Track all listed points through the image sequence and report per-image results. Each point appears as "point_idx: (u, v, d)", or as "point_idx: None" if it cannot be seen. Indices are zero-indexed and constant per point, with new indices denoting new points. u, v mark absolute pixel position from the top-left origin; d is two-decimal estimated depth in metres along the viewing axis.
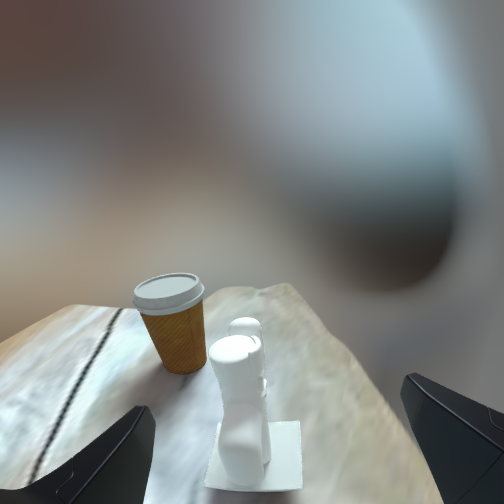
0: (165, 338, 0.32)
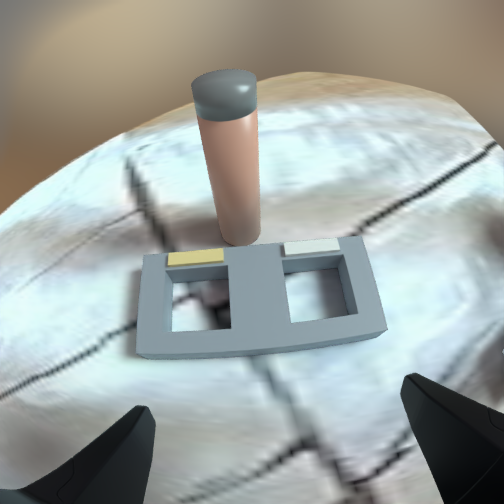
0: None
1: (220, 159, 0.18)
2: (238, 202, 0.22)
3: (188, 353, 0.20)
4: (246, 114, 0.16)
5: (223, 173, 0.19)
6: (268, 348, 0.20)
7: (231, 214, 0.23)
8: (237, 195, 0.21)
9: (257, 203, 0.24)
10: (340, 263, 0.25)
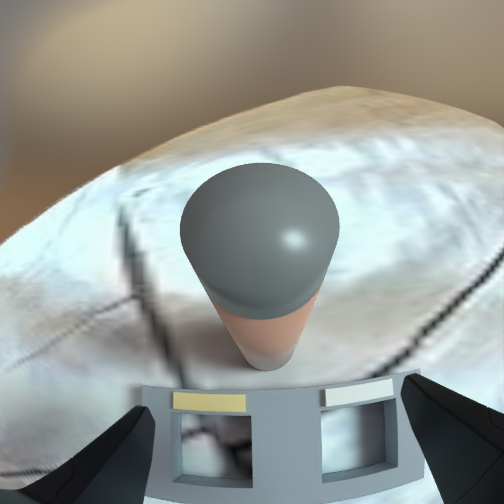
0: None
1: (246, 339, 0.10)
2: (270, 358, 0.14)
3: None
4: (307, 300, 0.08)
5: (250, 346, 0.12)
6: None
7: (258, 361, 0.16)
8: (270, 356, 0.14)
9: (296, 344, 0.16)
10: (388, 400, 0.17)
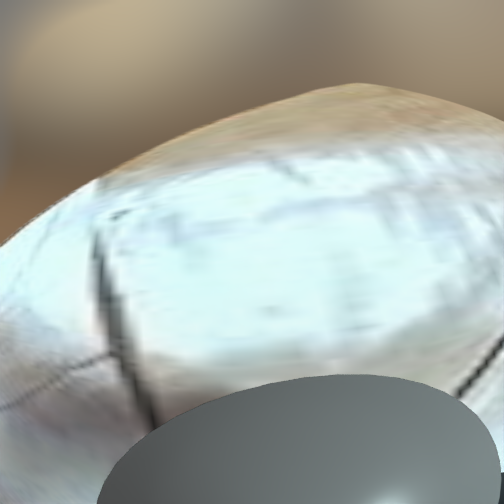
0: None
1: None
2: None
3: None
4: None
5: None
6: None
7: None
8: None
9: None
10: None
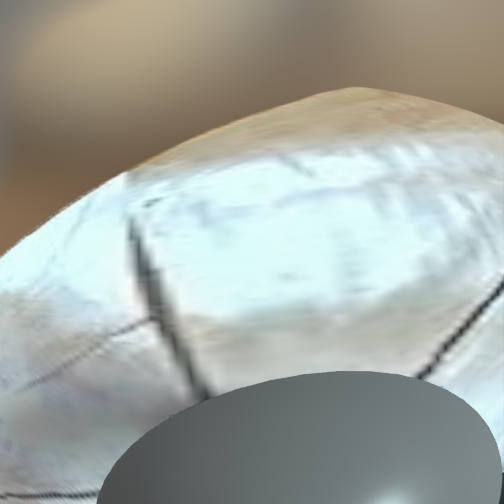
0: None
1: None
2: None
3: None
4: None
5: None
6: None
7: None
8: None
9: None
10: None
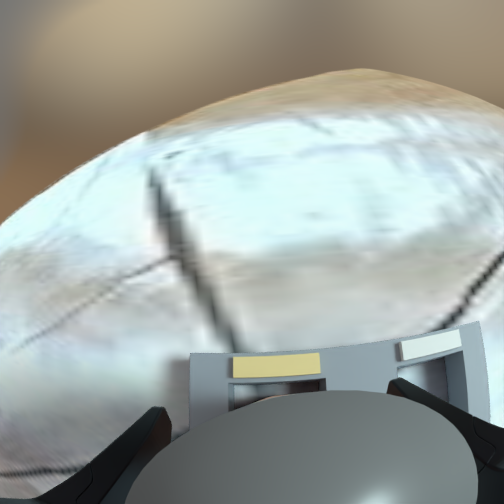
0: None
1: None
2: None
3: None
4: None
5: None
6: None
7: None
8: None
9: None
10: (452, 356, 0.15)
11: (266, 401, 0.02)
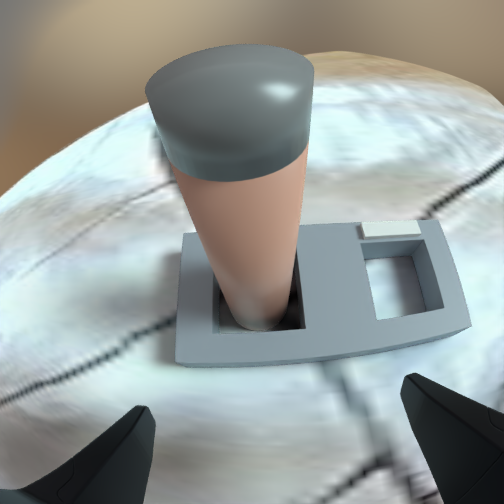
0: None
1: (224, 247, 0.09)
2: (257, 298, 0.13)
3: (248, 362, 0.15)
4: (287, 161, 0.06)
5: (231, 266, 0.10)
6: (351, 352, 0.15)
7: (245, 307, 0.14)
8: (257, 292, 0.12)
9: (288, 288, 0.15)
10: (417, 250, 0.19)
11: (215, 48, 0.07)
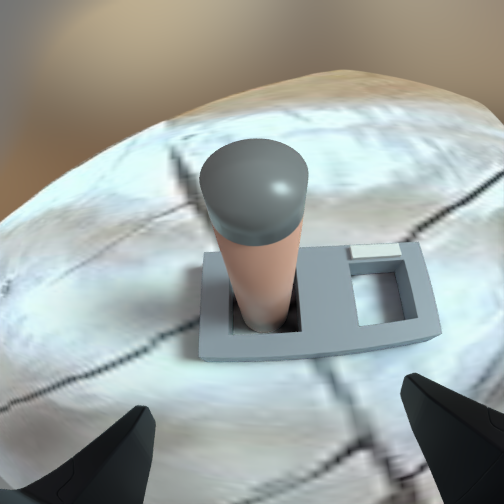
0: None
1: (245, 278, 0.14)
2: (265, 309, 0.17)
3: (257, 357, 0.20)
4: (288, 233, 0.11)
5: (248, 289, 0.15)
6: (337, 351, 0.19)
7: (256, 315, 0.19)
8: (265, 304, 0.17)
9: (288, 300, 0.19)
10: (399, 268, 0.24)
11: (241, 140, 0.11)
